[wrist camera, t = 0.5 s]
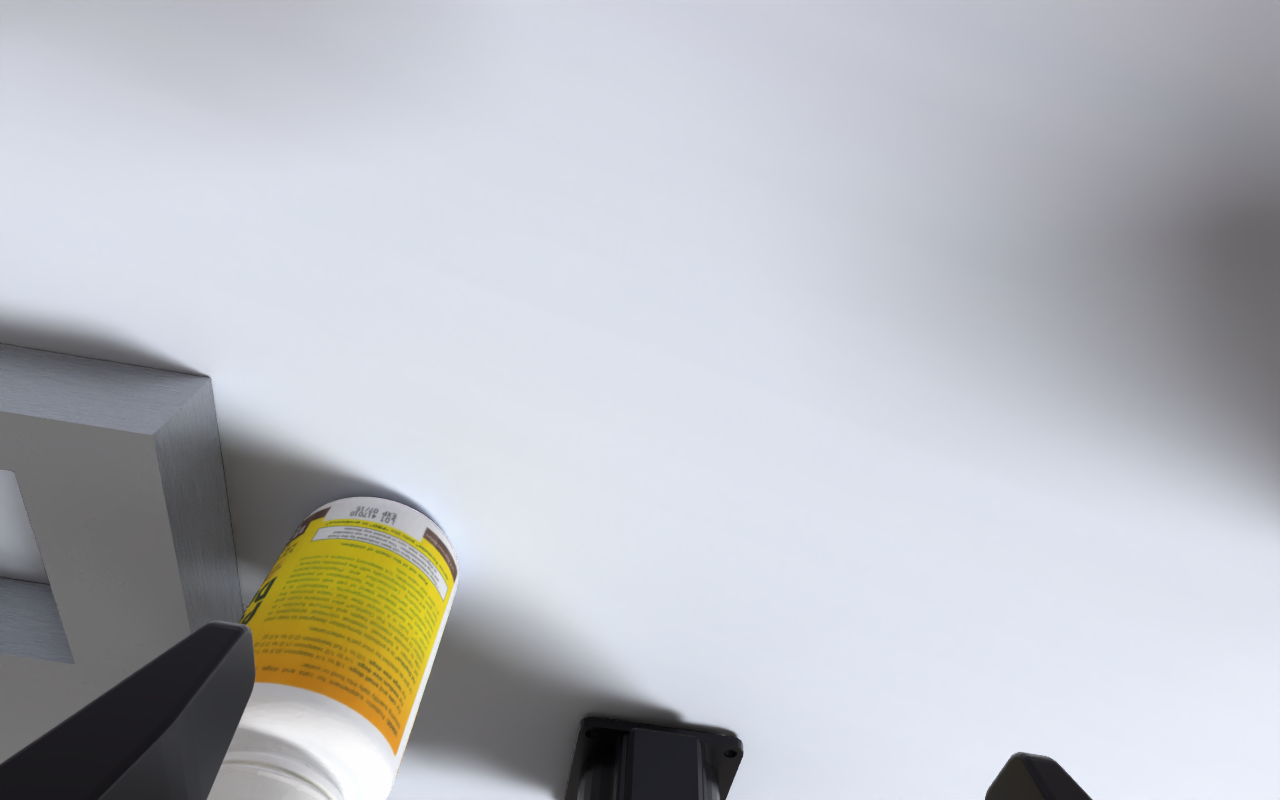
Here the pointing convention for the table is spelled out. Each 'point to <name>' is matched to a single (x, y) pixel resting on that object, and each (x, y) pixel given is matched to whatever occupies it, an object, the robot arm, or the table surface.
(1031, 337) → the table surface
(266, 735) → the supplement bottle
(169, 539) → the jig block
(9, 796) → the robot arm
